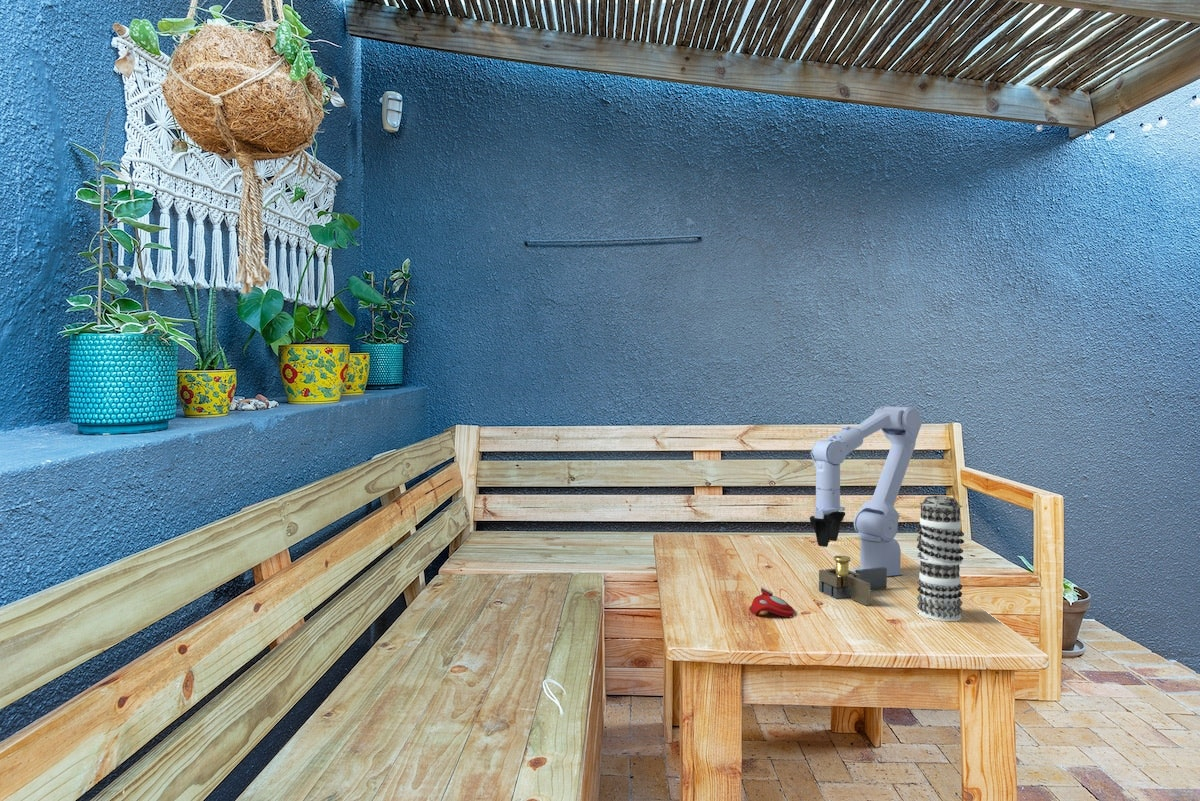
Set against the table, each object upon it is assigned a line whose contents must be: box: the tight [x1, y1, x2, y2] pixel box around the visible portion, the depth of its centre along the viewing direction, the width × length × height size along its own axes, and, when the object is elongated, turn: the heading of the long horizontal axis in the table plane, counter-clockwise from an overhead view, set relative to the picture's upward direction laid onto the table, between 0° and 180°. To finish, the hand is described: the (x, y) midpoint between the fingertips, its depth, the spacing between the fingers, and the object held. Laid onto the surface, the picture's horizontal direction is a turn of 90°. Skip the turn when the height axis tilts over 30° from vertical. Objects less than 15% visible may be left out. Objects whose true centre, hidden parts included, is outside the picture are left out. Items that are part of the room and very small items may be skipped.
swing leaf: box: [818, 567, 871, 606], centre depth 165 cm, size 13×7×5 cm, turn 19°
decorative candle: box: [915, 495, 965, 622], centre depth 152 cm, size 9×9×25 cm
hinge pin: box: [833, 555, 851, 576], centre depth 168 cm, size 4×4×9 cm
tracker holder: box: [748, 586, 795, 618], centre depth 156 cm, size 12×4×10 cm
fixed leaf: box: [818, 567, 888, 600], centre depth 170 cm, size 16×7×5 cm, turn 109°
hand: (827, 543), depth 179 cm, fingers open, 7 cm apart
